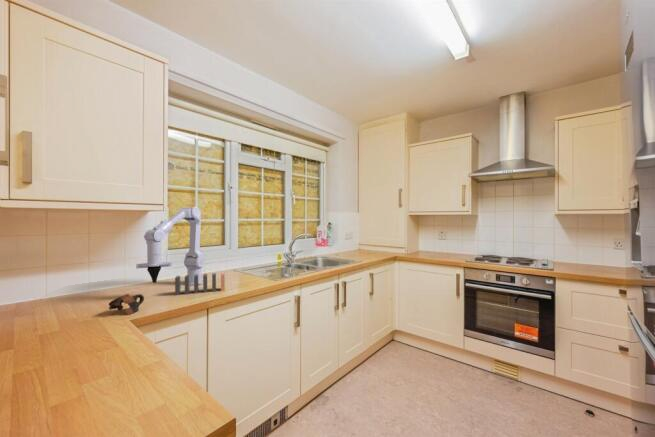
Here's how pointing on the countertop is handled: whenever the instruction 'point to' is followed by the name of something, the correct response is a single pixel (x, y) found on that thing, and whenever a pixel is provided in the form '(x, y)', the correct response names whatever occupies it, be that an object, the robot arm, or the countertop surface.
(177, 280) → the domino
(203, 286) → the domino
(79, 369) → the countertop surface
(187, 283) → the domino
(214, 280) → the domino
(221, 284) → the domino
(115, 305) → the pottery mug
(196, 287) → the domino
